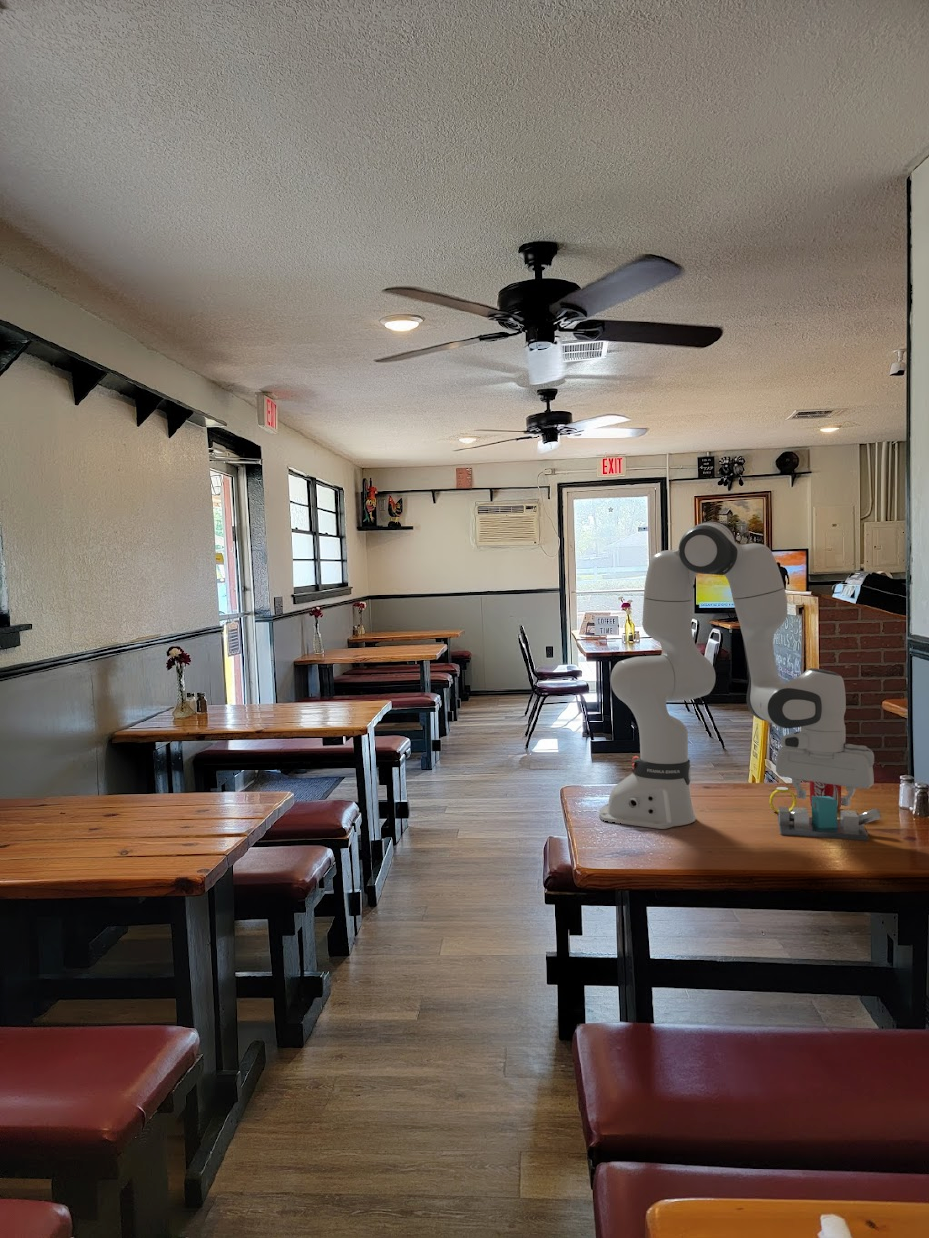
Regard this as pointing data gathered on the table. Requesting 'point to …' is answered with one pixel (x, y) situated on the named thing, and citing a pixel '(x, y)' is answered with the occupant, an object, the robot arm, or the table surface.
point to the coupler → (824, 812)
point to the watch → (783, 790)
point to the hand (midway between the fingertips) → (823, 801)
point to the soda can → (825, 791)
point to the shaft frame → (846, 828)
